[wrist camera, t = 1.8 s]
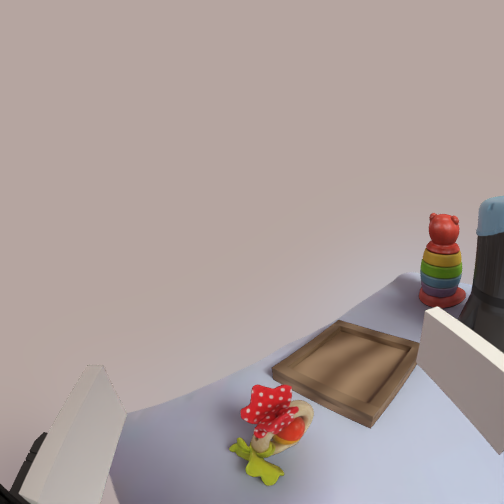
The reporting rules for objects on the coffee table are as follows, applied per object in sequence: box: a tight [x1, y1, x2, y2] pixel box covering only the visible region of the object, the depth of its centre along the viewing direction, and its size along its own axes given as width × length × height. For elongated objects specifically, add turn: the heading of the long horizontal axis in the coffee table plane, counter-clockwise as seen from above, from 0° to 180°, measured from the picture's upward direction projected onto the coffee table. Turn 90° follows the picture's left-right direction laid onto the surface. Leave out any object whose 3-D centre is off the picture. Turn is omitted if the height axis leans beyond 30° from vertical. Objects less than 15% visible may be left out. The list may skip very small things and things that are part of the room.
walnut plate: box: [272, 320, 420, 428], centre depth 36 cm, size 16×16×2 cm
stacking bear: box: [419, 213, 466, 308], centre depth 47 cm, size 11×10×18 cm
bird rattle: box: [229, 385, 314, 486], centre depth 23 cm, size 6×11×9 cm
